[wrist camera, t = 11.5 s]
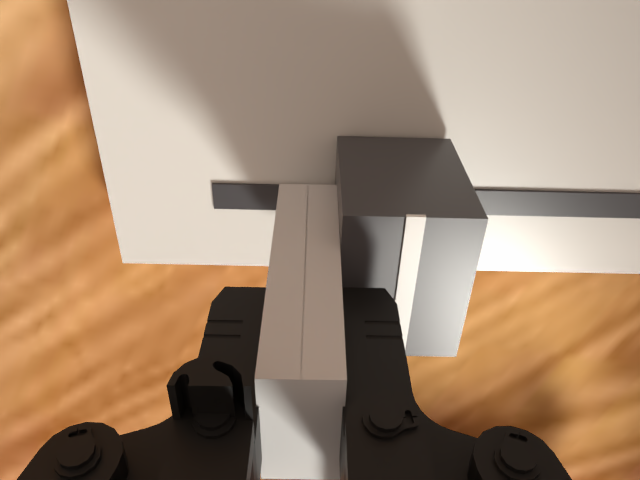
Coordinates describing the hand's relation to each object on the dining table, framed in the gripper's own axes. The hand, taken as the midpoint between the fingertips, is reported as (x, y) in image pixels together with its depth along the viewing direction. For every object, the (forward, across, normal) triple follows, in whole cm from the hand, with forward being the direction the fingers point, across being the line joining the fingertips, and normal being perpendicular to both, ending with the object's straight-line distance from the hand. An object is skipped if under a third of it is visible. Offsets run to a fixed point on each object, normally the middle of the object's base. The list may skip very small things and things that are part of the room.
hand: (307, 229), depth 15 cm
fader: (+1, -2, 0) cm, 3 cm away
